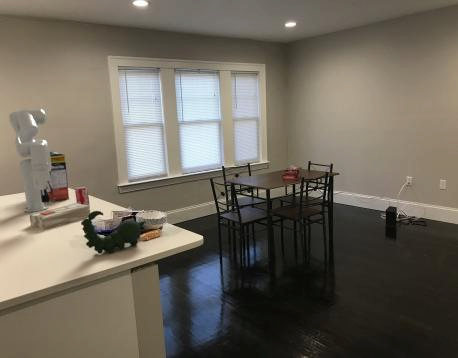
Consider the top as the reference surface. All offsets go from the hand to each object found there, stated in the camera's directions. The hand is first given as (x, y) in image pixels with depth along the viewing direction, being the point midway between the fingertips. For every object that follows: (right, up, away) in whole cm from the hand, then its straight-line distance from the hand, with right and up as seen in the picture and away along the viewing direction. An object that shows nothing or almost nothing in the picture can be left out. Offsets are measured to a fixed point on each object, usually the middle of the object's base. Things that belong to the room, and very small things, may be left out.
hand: (45, 201), depth 192 cm
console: (+5, -11, +7) cm, 14 cm away
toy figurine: (+50, -17, -41) cm, 67 cm away
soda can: (+7, -6, +32) cm, 34 cm away
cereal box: (-25, -1, +69) cm, 73 cm away
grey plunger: (+9, -7, +12) cm, 17 cm away
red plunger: (+1, -9, +1) cm, 9 cm away
